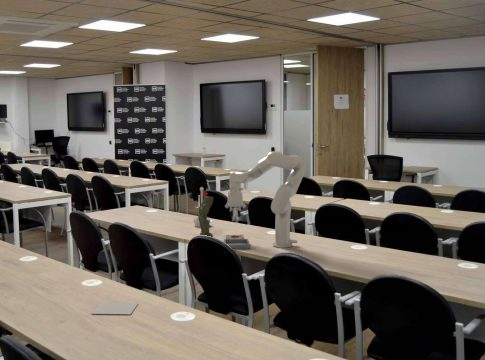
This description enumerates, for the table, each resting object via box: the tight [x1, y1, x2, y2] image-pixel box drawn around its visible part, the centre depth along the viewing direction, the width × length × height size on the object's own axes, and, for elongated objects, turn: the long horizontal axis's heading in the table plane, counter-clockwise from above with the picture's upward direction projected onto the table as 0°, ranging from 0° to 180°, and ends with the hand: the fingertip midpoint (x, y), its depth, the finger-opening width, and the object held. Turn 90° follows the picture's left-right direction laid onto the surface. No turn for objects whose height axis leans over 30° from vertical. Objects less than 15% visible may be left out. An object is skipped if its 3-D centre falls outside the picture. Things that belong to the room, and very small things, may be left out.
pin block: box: [225, 234, 246, 239], centre depth 355 cm, size 12×12×2 cm
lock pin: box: [231, 208, 240, 222], centre depth 352 cm, size 4×4×8 cm
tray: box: [223, 238, 251, 250], centre depth 338 cm, size 16×16×3 cm
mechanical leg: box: [197, 195, 214, 237], centre depth 363 cm, size 14×7×30 cm, turn 143°
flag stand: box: [193, 186, 211, 228], centre depth 402 cm, size 13×13×30 cm
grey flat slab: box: [91, 301, 139, 315], centre depth 222 cm, size 23×25×1 cm
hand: (235, 216), depth 352 cm, fingers closed on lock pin, 4 cm apart
